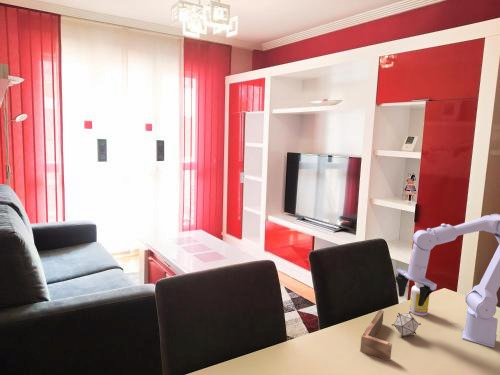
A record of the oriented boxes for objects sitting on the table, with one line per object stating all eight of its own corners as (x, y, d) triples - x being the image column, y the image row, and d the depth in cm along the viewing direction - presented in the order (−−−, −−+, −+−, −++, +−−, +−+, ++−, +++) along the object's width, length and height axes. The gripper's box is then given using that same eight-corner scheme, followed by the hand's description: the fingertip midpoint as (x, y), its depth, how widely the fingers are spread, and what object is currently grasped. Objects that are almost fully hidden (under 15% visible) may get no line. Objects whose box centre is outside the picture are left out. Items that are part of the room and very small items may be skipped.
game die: (409, 347, 130) (425, 335, 123) (386, 336, 131) (400, 322, 124) (411, 325, 136) (426, 312, 130) (389, 315, 138) (402, 301, 131)
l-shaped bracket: (403, 330, 134) (405, 316, 134) (389, 361, 115) (391, 345, 114) (378, 322, 139) (379, 309, 138) (360, 351, 119) (361, 335, 119)
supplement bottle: (431, 315, 148) (434, 283, 146) (418, 317, 145) (422, 285, 143) (417, 307, 154) (421, 277, 152) (405, 309, 151) (408, 279, 149)
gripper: (393, 258, 135) (386, 293, 137) (431, 273, 123) (423, 312, 125) (405, 256, 139) (398, 291, 141) (443, 271, 127) (434, 308, 129)
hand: (410, 300), depth 133 cm, fingers open, 7 cm apart
